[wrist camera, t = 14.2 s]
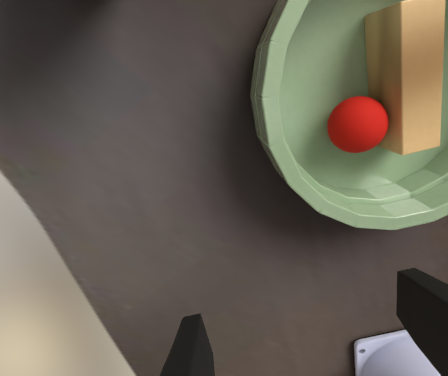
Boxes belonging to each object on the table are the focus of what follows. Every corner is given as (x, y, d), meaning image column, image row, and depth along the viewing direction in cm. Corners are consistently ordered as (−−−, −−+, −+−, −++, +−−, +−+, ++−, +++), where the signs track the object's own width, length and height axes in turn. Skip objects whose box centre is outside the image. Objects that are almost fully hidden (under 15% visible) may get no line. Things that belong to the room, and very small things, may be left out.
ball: (330, 128, 18) (357, 166, 17) (307, 117, 16) (336, 161, 15) (374, 92, 16) (407, 132, 15) (355, 76, 14) (392, 121, 13)
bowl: (479, 175, 19) (545, 198, 16) (269, 220, 20) (284, 253, 16) (515, -98, 14) (627, -162, 10) (227, -33, 14) (235, -73, 11)
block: (402, 135, 17) (440, 146, 15) (370, 144, 17) (402, 156, 15) (401, 5, 15) (446, -11, 12) (363, 15, 15) (400, 1, 12)
